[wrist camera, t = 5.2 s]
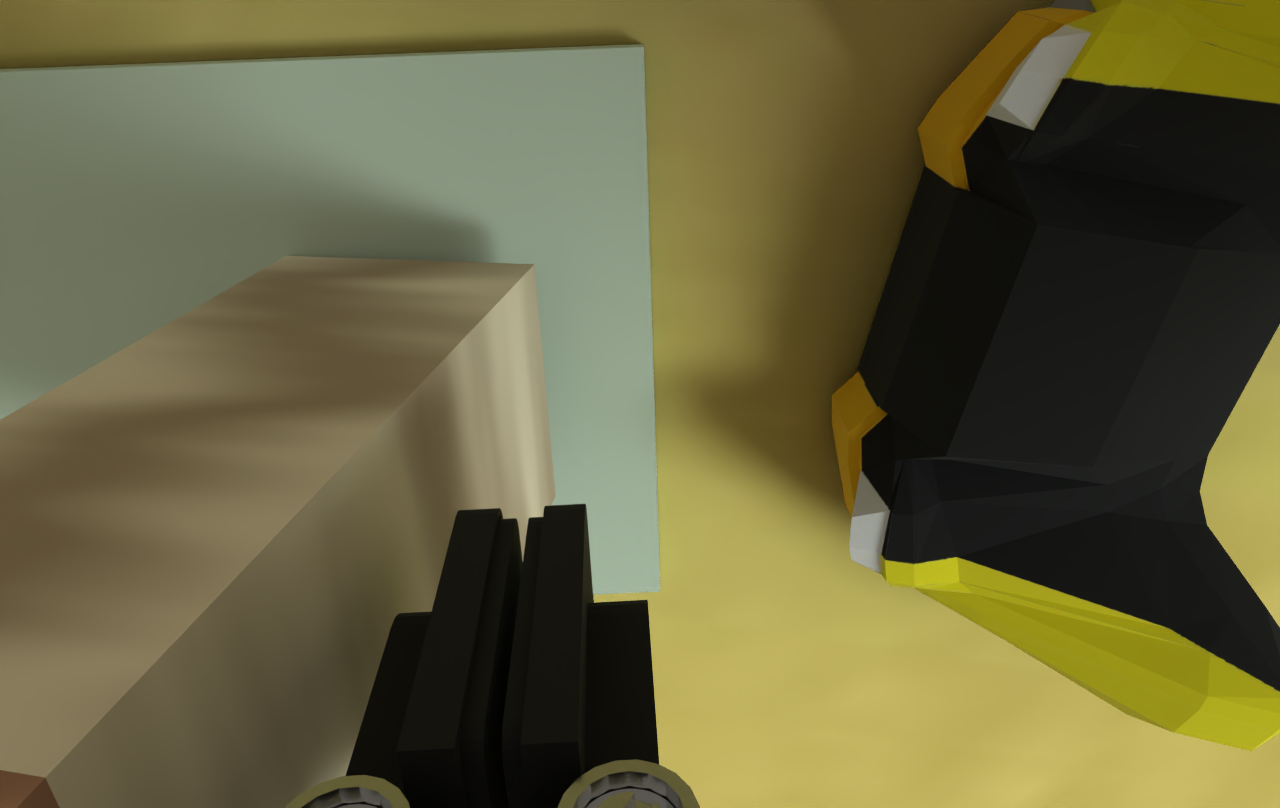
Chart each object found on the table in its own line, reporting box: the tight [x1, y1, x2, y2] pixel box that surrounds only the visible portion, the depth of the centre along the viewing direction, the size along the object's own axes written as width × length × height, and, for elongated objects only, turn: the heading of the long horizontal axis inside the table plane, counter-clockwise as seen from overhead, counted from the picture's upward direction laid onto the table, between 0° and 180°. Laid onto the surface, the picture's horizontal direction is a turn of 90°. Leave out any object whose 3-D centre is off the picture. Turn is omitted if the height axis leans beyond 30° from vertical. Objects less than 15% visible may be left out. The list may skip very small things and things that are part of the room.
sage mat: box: [0, 44, 660, 594], centre depth 19 cm, size 20×12×1 cm, turn 92°
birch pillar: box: [0, 256, 556, 808], centre depth 13 cm, size 5×5×12 cm
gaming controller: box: [832, 0, 1280, 751], centre depth 17 cm, size 15×6×10 cm
